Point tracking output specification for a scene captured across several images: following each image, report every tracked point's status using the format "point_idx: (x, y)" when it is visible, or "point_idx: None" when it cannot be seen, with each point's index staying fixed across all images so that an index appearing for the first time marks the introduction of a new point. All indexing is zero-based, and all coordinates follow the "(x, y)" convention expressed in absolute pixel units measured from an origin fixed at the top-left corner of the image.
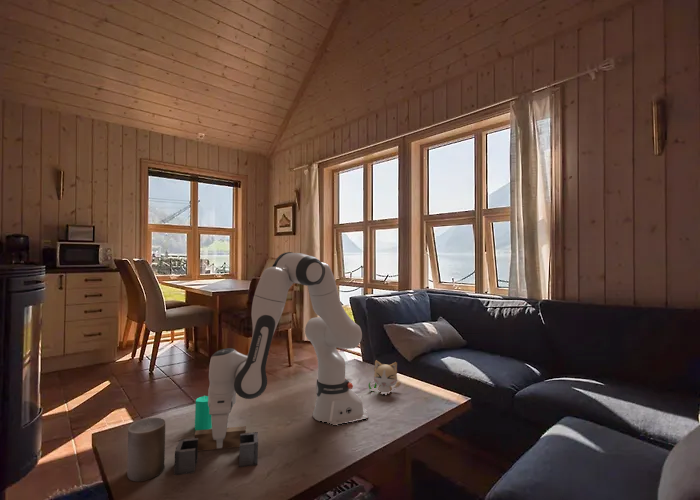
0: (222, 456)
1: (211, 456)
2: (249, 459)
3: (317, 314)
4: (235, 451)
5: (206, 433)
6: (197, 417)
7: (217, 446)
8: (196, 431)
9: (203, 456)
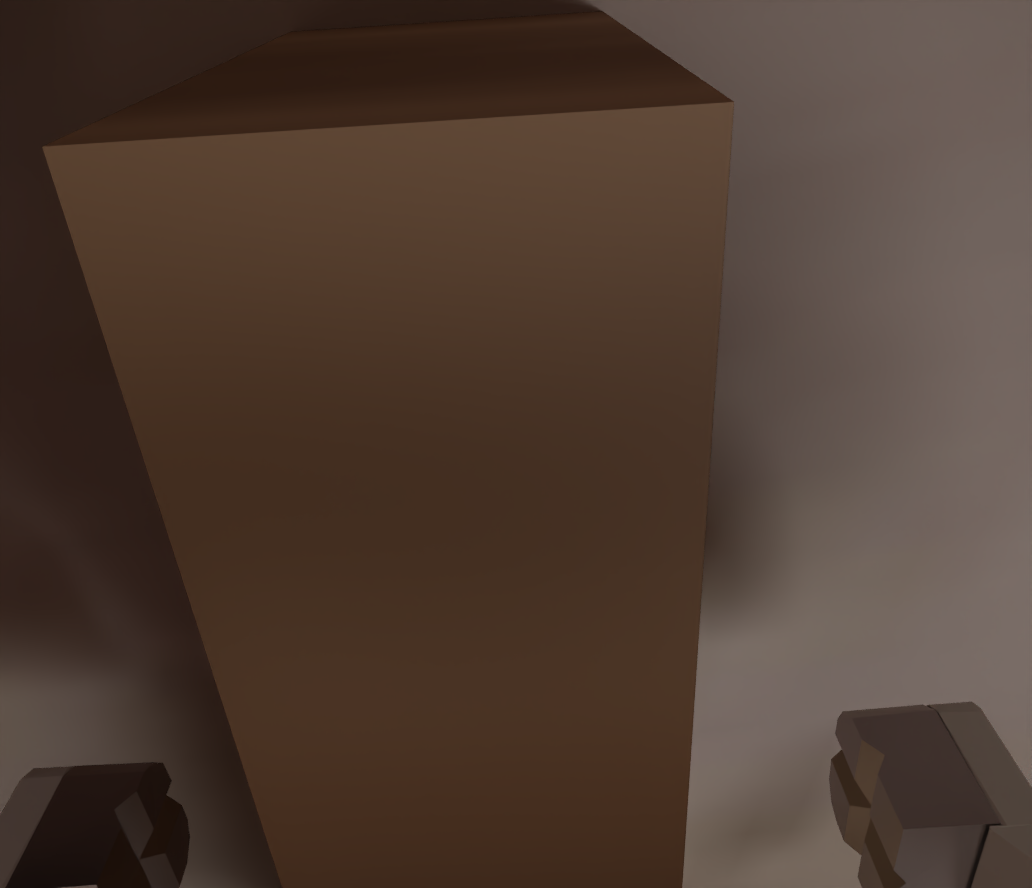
0: (76, 727)
1: (47, 545)
2: None
3: None
4: (273, 874)
5: (261, 723)
6: None
7: (17, 813)
8: (549, 173)
9: (19, 375)
